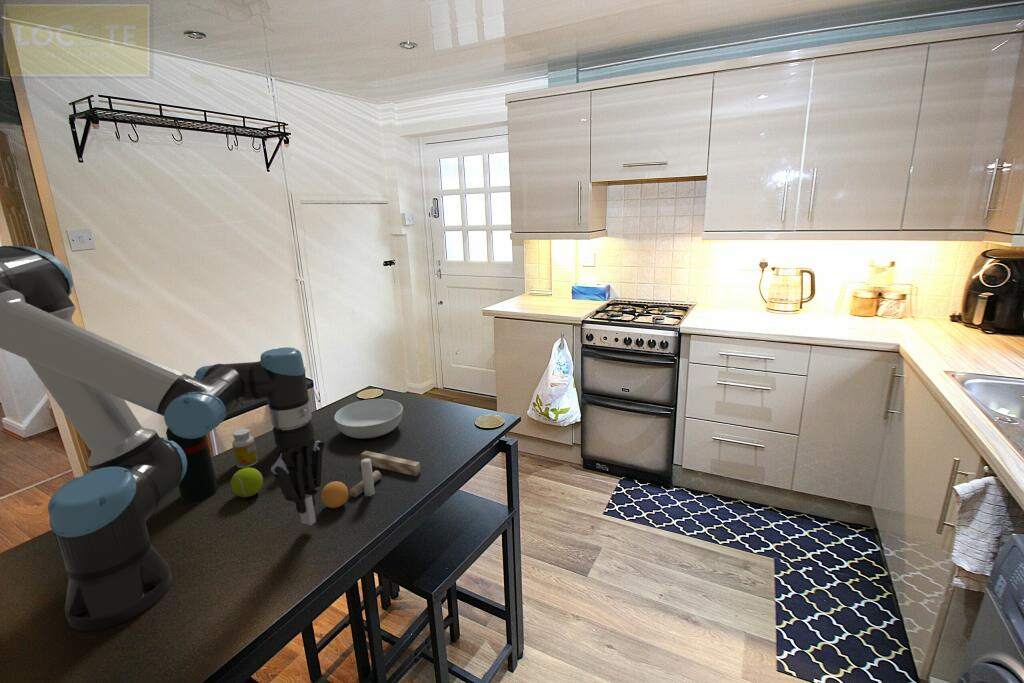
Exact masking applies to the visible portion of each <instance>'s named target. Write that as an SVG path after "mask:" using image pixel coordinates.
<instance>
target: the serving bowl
mask: <svg viewBox="0 0 1024 683" xmlns="http://www.w3.org/2000/svg"><path fill="white" fill-rule="evenodd" d="M403 415H404V406H403V405H402V404H401V402H399V401H396V400H392V399H390V398H389V399H388V398H371V399H363V400H359V401H355V402H352V403H349V404H347V405H344V406H343V407H341V408H340V409H338V410H337V411H336V413H335V414H334V416H333V417H334V422H335V425H336V427H337V428H338V430H339V431H340V432H341V433H342V434H343V435H345V436H347V437H350V438H355V439H372V438H377V437H381V436H384V435H387V434H389V433H390V432H392V431H394V430H395V429H396V428H397V427H398V426H399V424H400V422H401V421H402V419H403Z"/></svg>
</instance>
